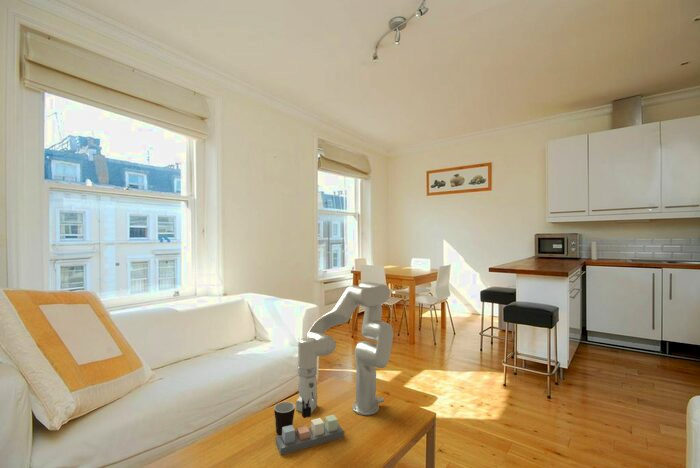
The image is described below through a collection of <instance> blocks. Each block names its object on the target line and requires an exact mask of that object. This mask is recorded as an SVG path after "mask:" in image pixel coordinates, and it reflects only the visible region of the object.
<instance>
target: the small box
mask: <svg viewBox="0 0 700 468" xmlns="http://www.w3.org/2000/svg"><path fill="white" fill-rule="evenodd" d="M312 401H313V407H311V414H312V413H313V412H314V410H315V409H316V408H317V406H318V400H317V401H316V402H315V401H314V400H313V398H312ZM295 404H296V405H295V411H296V412H301V413H302V398H301V396H300V395H299V397H298V398H297V399H296V403H295Z"/></svg>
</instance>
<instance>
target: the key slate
mask: <svg viewBox="0 0 700 468" xmlns="http://www.w3.org/2000/svg"><path fill="white" fill-rule="evenodd" d="M293 425H294V424H293ZM293 425H289V426H285V427H282V440H283V442H284V445H285V444H289V443H292V442H295V431H296V430H295V428H294V426H293Z"/></svg>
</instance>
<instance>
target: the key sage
mask: <svg viewBox="0 0 700 468" xmlns="http://www.w3.org/2000/svg"><path fill="white" fill-rule="evenodd" d="M338 421H339V419H338V418H337V417H336V415H335V414H331V415H327V416H324V424H325V429H326V430H327V432H328V433H329V432H332V431H336V430H337V425H338V424H339V423H338Z"/></svg>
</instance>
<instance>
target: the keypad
mask: <svg viewBox="0 0 700 468" xmlns="http://www.w3.org/2000/svg"><path fill="white" fill-rule="evenodd" d="M308 429H309V431H310V438H307V439H303V440H299V439H298V437H297V430H295V442H292V443H289V444H284V442H283V440H282V435H277V436H275V446H276V447H277V450H278V452H279V455H280V456H284V455H287V454H290V453H294V452H297V451H301V450H304V449H307V448H311V447H314V446H318V445H319V446H320V445H321V444H324V443H328V442H332V441H335V440H339V439H342V438H344V437H345V430H343V429H344V428H342V427H341V426H340V424H339V423H338V425H337V430H336V431H332V432H329V433H328V432H327V430H326V429H325V423H324V434H321V435H318V436H314V435H313V434H312V432H311V427H308Z"/></svg>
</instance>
